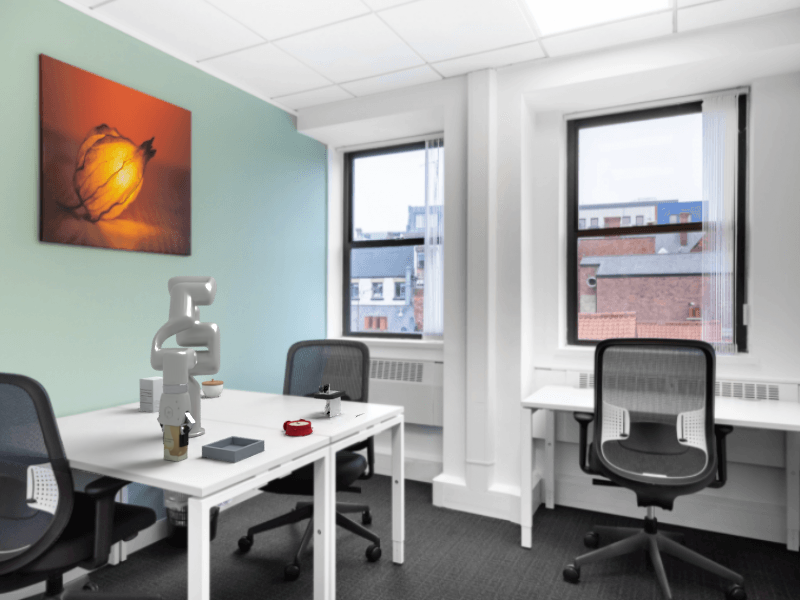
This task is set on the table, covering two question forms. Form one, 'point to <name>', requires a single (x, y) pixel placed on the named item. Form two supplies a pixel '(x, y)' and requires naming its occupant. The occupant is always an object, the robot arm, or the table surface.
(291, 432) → the alarm clock
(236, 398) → the table surface
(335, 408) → the black-topped pedestal
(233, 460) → the tray
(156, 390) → the supplement box
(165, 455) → the skincare box
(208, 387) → the lidded jar
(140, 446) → the table surface
